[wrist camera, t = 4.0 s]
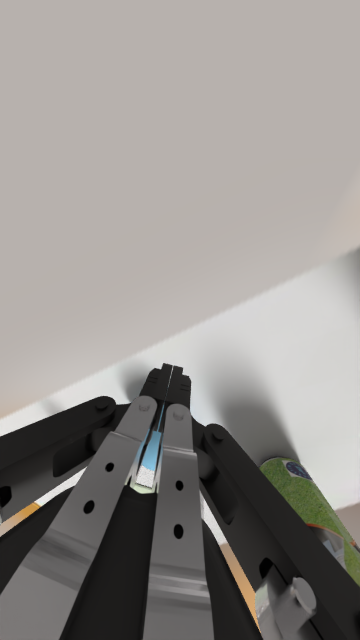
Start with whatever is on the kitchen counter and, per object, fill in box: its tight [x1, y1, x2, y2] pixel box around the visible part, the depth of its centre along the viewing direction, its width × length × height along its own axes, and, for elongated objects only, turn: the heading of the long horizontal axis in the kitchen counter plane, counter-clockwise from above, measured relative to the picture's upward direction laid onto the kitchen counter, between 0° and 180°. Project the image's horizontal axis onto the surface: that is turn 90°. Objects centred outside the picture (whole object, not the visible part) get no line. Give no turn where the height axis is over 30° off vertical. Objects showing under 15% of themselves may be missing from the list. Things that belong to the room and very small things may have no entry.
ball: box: [142, 405, 164, 471], centre depth 17 cm, size 6×6×6 cm
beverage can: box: [259, 457, 360, 587], centre depth 14 cm, size 6×7×12 cm
